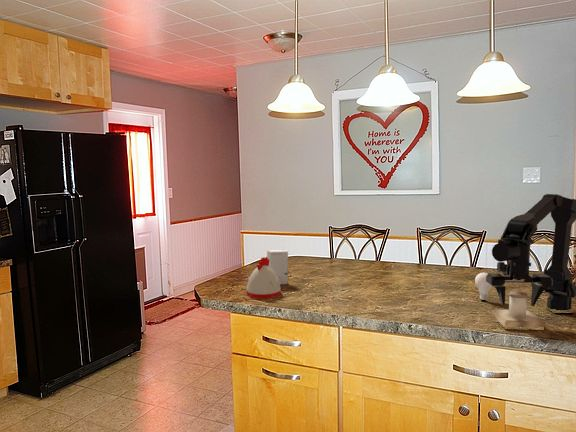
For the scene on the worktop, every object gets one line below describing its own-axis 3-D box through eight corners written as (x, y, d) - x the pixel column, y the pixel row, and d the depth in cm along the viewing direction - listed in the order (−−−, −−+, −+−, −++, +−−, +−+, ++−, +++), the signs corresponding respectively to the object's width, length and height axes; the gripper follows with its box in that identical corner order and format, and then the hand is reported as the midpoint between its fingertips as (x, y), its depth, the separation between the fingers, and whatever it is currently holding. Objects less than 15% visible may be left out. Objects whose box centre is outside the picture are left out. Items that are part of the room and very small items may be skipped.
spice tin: (522, 312, 153) (523, 291, 152) (529, 317, 148) (530, 295, 147) (505, 312, 154) (506, 291, 153) (512, 317, 148) (513, 295, 148)
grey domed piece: (286, 292, 193) (286, 256, 191) (268, 300, 181) (268, 262, 180) (259, 288, 200) (258, 253, 198) (239, 295, 188) (239, 259, 187)
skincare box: (270, 285, 203) (270, 252, 201) (266, 282, 209) (266, 250, 207) (288, 284, 206) (288, 250, 204) (284, 281, 211) (283, 248, 210)
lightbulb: (494, 300, 177) (495, 272, 176) (489, 304, 173) (490, 275, 171) (477, 297, 182) (478, 270, 180) (471, 301, 177) (472, 272, 176)
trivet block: (527, 318, 157) (528, 309, 156) (544, 330, 145) (545, 321, 144) (491, 317, 158) (491, 309, 157) (504, 330, 146) (505, 320, 145)
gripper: (538, 253, 156) (536, 299, 158) (481, 253, 158) (479, 298, 159) (554, 260, 145) (552, 309, 147) (493, 259, 147) (491, 308, 148)
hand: (517, 305), depth 151 cm, fingers open, 9 cm apart
